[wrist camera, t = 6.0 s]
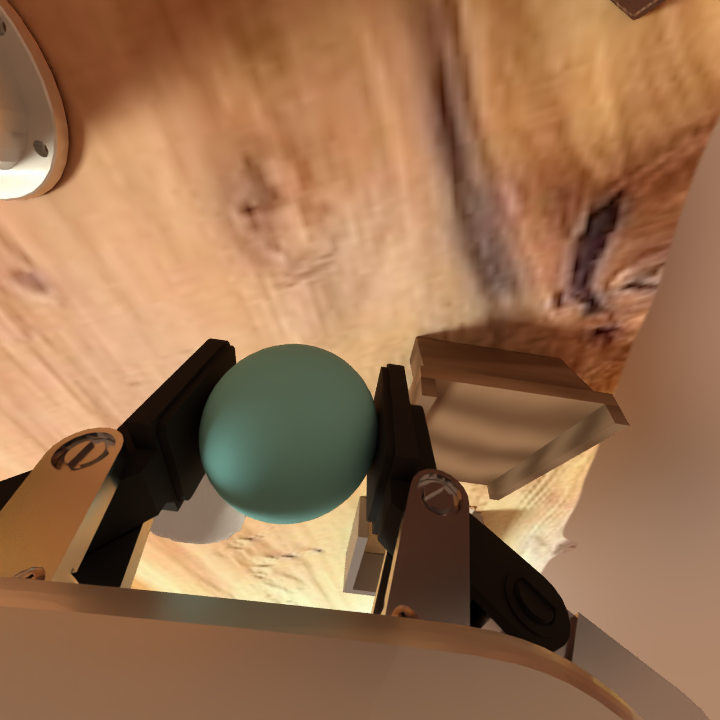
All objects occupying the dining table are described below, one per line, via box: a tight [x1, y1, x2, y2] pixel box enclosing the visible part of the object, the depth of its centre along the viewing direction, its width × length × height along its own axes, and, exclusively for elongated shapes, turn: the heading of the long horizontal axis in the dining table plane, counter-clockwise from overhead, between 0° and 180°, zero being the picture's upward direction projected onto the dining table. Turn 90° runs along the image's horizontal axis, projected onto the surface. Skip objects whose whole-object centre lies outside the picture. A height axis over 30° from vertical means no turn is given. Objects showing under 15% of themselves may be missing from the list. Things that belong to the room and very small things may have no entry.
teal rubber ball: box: [199, 344, 378, 524], centre depth 9 cm, size 5×5×5 cm
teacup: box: [150, 473, 246, 544], centre depth 31 cm, size 15×12×8 cm
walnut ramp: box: [408, 337, 630, 500], centre depth 27 cm, size 18×14×8 cm
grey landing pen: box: [343, 497, 484, 596], centre depth 40 cm, size 16×16×5 cm
